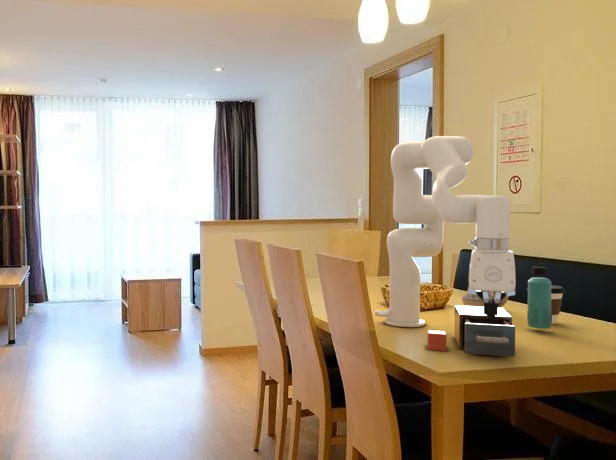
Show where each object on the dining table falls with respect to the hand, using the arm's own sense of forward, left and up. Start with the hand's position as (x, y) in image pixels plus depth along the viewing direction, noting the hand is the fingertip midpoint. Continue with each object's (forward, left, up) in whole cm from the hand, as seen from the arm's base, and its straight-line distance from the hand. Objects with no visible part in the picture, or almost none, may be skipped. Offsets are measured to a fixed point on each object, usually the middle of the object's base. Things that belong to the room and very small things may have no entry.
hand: (490, 317), depth 145 cm
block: (-12, +9, -11) cm, 18 cm away
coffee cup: (+24, +57, -11) cm, 63 cm away
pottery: (+8, +69, -11) cm, 70 cm away
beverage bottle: (+19, +41, -11) cm, 47 cm away
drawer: (0, +6, -10) cm, 12 cm away
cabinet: (0, +17, -11) cm, 20 cm away
